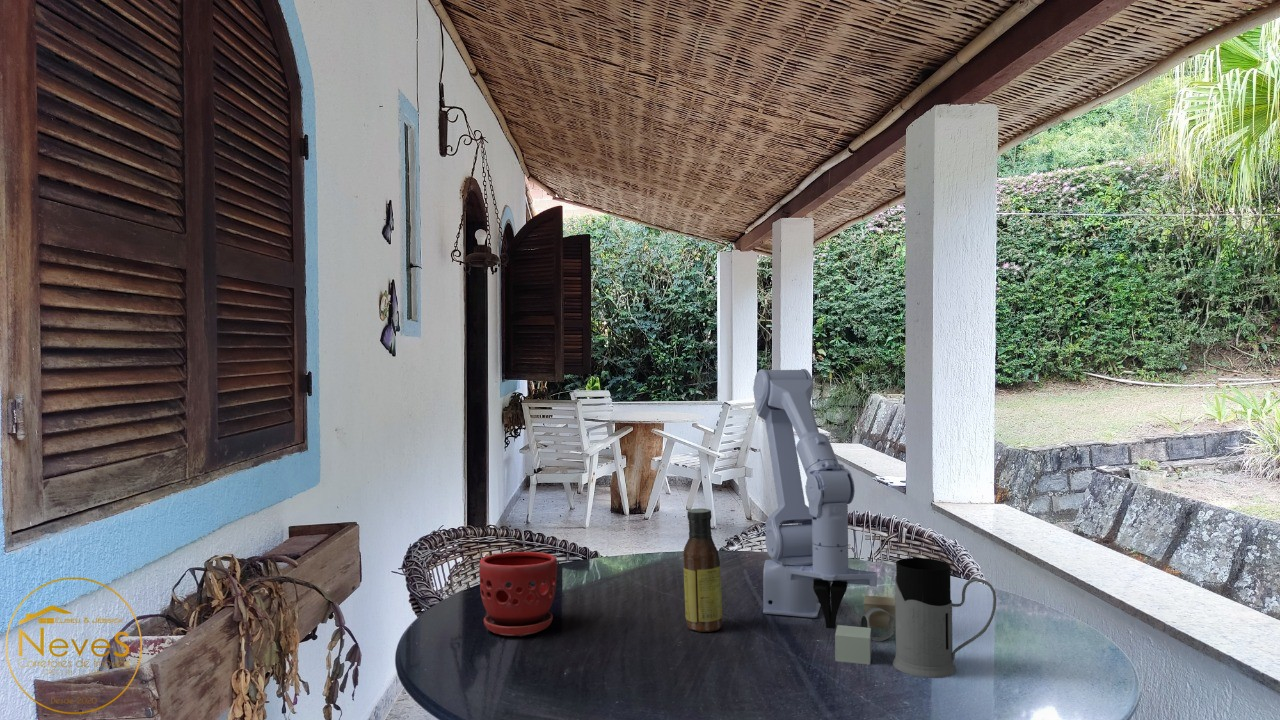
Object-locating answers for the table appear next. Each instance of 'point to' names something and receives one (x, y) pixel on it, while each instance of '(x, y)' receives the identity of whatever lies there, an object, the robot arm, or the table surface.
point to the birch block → (879, 617)
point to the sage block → (853, 644)
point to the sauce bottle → (702, 575)
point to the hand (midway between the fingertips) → (831, 626)
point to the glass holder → (927, 618)
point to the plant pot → (518, 591)
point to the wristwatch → (866, 624)
